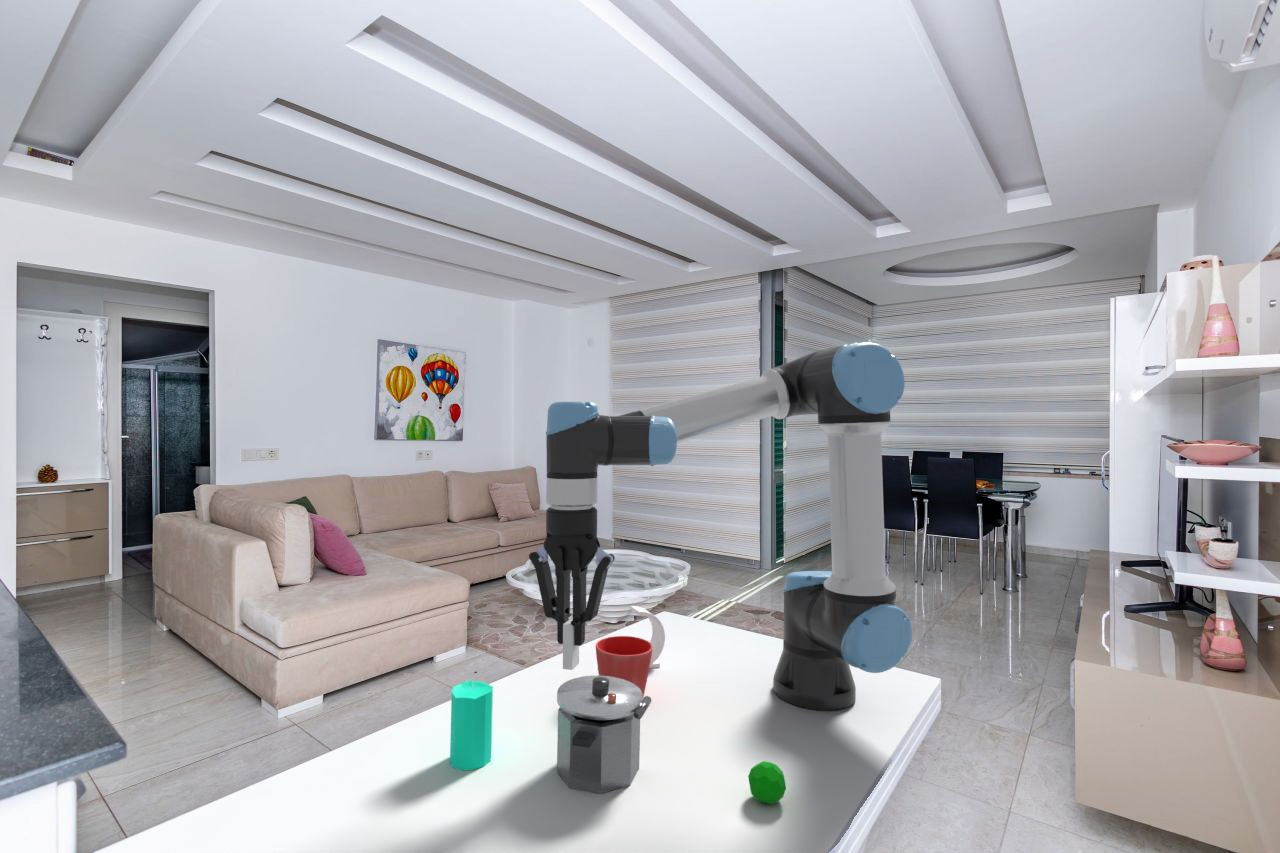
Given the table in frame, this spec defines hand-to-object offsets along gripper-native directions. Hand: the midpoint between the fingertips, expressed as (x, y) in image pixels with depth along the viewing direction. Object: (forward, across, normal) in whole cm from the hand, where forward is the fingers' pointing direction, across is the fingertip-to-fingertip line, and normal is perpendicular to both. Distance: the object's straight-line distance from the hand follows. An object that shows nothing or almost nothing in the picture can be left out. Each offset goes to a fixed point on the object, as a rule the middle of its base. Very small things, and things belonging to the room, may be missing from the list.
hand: (571, 665), depth 92 cm
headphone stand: (+15, 0, -42) cm, 44 cm away
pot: (+15, -4, 0) cm, 15 cm away
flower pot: (+15, 0, -25) cm, 29 cm away
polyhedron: (+15, -28, 0) cm, 32 cm away
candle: (+14, +14, +3) cm, 21 cm away
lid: (+5, -5, 0) cm, 7 cm away
